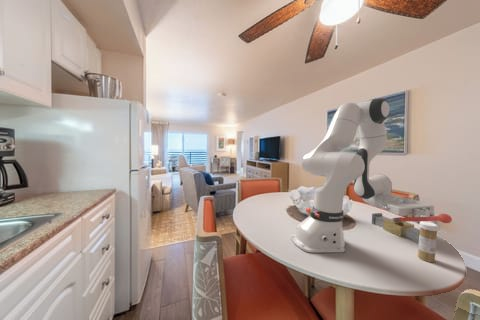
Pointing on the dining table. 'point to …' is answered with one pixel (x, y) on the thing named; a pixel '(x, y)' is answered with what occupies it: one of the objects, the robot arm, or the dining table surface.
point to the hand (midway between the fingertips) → (432, 214)
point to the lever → (425, 218)
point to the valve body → (396, 227)
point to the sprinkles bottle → (427, 241)
